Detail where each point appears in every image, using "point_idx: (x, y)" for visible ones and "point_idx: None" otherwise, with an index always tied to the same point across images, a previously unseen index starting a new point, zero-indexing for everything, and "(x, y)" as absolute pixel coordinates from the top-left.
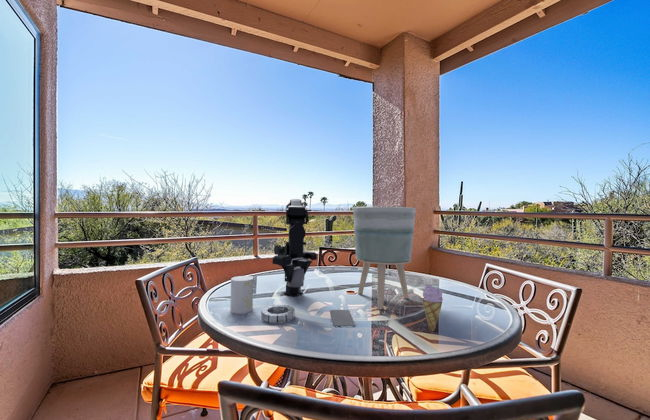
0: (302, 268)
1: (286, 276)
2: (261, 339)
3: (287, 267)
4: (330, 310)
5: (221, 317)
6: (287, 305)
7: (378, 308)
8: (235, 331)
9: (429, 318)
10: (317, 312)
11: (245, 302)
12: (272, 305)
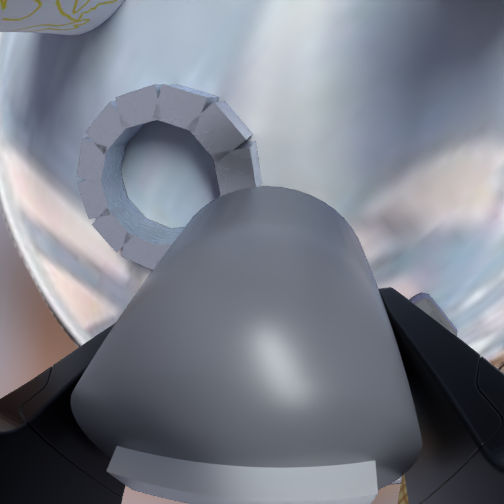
0: (388, 481)
1: (86, 350)
2: (65, 296)
3: (34, 469)
4: (416, 302)
5: (10, 53)
6: (248, 152)
7: (500, 370)
8: (16, 202)
9: (402, 481)
10: (376, 262)
11: (43, 30)
12: (167, 89)
